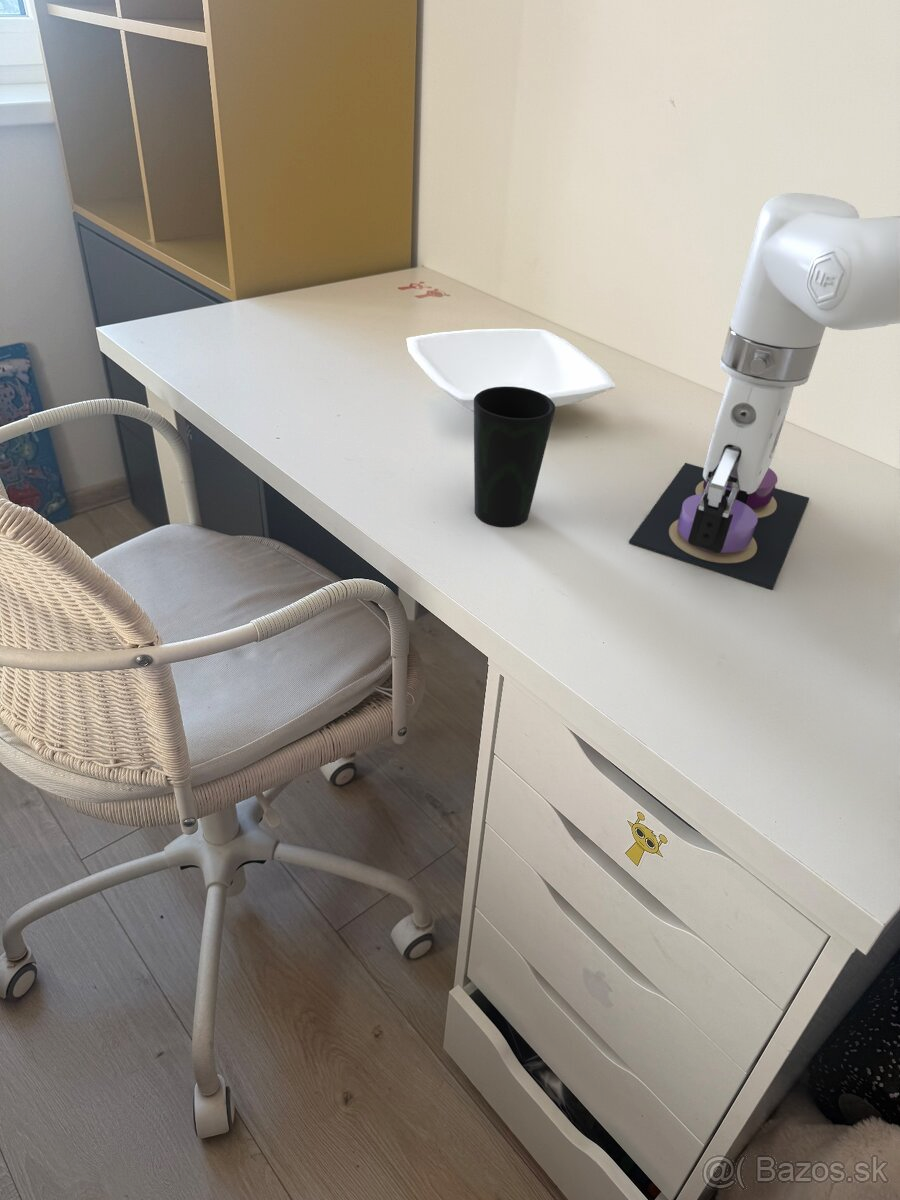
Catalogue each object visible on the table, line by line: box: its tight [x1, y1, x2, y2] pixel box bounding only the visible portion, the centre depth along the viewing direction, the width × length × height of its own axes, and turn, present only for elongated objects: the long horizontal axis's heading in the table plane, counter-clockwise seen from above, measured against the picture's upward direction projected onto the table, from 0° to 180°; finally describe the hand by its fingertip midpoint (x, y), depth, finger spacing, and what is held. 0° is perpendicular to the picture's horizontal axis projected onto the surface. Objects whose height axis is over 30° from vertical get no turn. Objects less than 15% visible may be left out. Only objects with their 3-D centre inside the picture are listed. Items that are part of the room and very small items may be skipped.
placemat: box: [628, 462, 810, 591], centre depth 86 cm, size 14×20×1 cm
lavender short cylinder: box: [677, 494, 758, 553], centre depth 82 cm, size 7×7×3 cm
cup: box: [473, 387, 556, 528], centre depth 81 cm, size 8×8×12 cm
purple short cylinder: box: [703, 467, 779, 509], centre depth 89 cm, size 7×7×3 cm
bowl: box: [406, 328, 616, 412], centre depth 105 cm, size 22×23×6 cm
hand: (717, 525), depth 81 cm, fingers open, 9 cm apart
